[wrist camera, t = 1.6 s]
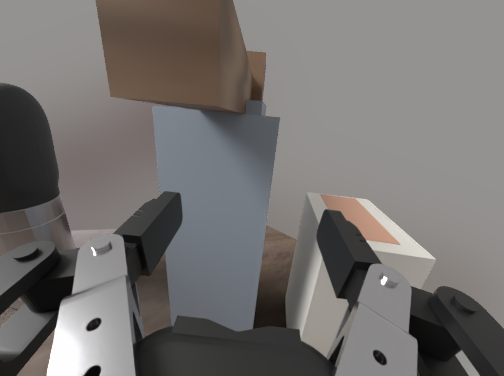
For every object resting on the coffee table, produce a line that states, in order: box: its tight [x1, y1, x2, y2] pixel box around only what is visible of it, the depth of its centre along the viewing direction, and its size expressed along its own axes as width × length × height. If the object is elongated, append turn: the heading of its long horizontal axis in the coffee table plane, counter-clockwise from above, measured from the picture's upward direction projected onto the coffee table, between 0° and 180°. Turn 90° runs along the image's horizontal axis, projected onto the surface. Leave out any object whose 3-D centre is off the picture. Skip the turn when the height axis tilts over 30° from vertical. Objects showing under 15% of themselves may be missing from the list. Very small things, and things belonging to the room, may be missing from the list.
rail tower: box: [152, 100, 280, 331], centre depth 26 cm, size 13×10×33 cm
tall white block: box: [285, 192, 436, 357], centre depth 26 cm, size 13×9×22 cm
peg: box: [96, 0, 266, 114], centre depth 14 cm, size 20×6×6 cm, turn 176°
